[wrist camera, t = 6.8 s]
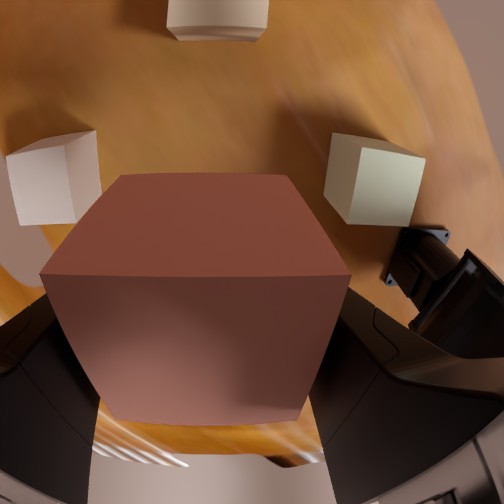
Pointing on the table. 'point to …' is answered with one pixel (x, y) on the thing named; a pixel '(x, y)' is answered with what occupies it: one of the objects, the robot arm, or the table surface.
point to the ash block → (217, 19)
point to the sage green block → (372, 180)
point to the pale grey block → (55, 178)
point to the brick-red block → (199, 297)
